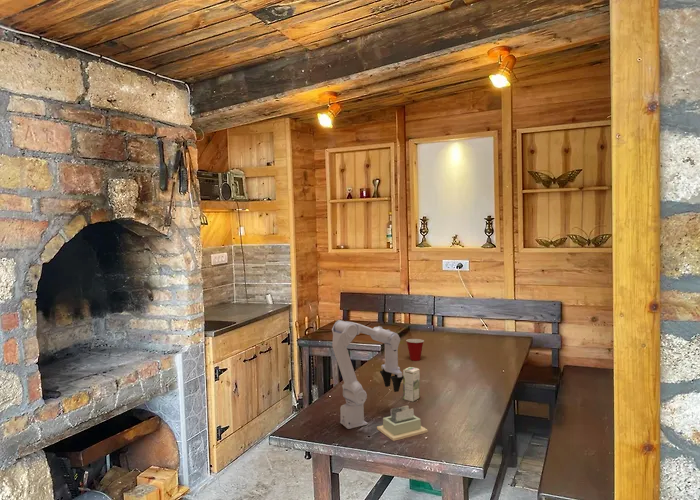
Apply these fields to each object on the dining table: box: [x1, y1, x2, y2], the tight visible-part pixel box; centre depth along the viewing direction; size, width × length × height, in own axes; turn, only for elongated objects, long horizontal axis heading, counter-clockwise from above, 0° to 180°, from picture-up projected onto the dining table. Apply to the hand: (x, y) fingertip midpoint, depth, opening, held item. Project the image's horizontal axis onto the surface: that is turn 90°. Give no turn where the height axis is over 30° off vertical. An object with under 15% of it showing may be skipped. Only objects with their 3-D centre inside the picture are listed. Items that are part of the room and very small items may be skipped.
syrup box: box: [402, 366, 421, 403], centre depth 246 cm, size 6×6×14 cm
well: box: [376, 414, 429, 442], centre depth 211 cm, size 16×13×5 cm
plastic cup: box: [405, 338, 425, 362], centre depth 311 cm, size 11×11×12 cm
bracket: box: [390, 404, 415, 424], centre depth 211 cm, size 8×4×8 cm, turn 116°
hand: (392, 388), depth 230 cm, fingers open, 7 cm apart
